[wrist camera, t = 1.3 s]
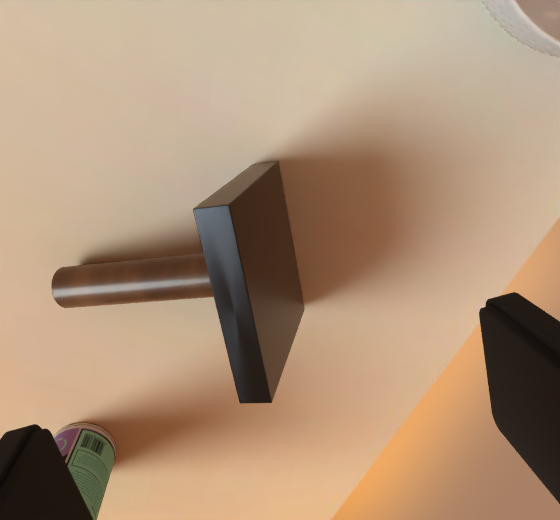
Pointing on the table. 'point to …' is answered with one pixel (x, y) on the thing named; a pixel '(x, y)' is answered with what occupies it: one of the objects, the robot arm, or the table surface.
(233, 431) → the table surface
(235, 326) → the towel holder
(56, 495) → the robot arm
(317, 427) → the table surface
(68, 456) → the spray can
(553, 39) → the cereal bowl
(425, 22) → the table surface
